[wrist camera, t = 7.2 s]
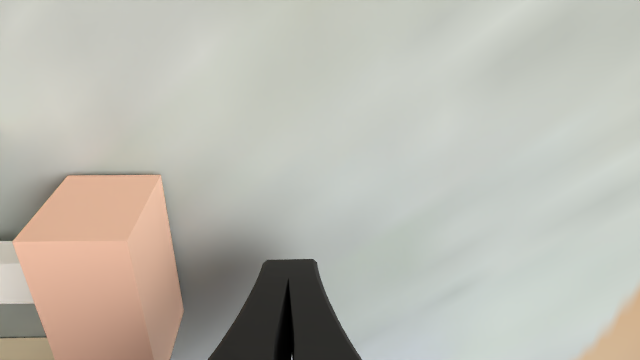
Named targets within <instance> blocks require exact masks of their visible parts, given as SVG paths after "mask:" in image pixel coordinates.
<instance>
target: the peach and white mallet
mask: <svg viewBox="0 0 640 360" xmlns="http://www.w3.org/2000/svg"><path fill="white" fill-rule="evenodd" d="M0 304H35V306H36V309H37V312H38V315H39V317H40V320H41V323H42V326H43V328H44V331H45V334H46V337H47V339H48V342H49V345H50V348H51V350H52V353H53V356H54V359H55V360H170V357H171V354H172V350H173V347H174V343H175V340H176V337H177V333H178V330H179V326H180V323H181V319H182V316H183V312H184V309H183V303H182V297H181V291H180V285H179V279H178V273H177V268H176V262H175V256H174V250H173V244H172V238H171V232H170V226H169V221H168V215H167V209H166V203H165V197H164V191H163V185H162V179H161V175H71V176H67V177H66V178H65V179H64V181H63V182H62V183H61V184H60V185H59V187H58V188H57V189H56V190H55V191H54V193H53V194H52V195H51V196H50V197H49V198H48V200H47V201H46V202H45V203H44V204H43V206H42V207H41V208H40V209H39V210H38V212H37V213H36V214H35V215H34V216H33V218H32V219H31V220H30V221H29V222H28V223H27V225H26V226H25V227H24V228H23V229H22V231H21V232H20V233H19V234H18V235H17V237H16V238H15V239H14V240H13V241H0Z"/></svg>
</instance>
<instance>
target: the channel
mask: <svg viewBox="0 0 640 360" xmlns="http://www.w3.org/2000/svg"><path fill="white" fill-rule="evenodd" d="M0 360H55V359H54V356H53V353H52V350H51V348H50V345H49V342H48V339H47V338H0Z"/></svg>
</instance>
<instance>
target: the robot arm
mask: <svg viewBox="0 0 640 360" xmlns="http://www.w3.org/2000/svg"><path fill="white" fill-rule="evenodd" d="M291 356H292V358H293V360H362V359H361V357H360V356H359V354H358V353H357V351H356V350H355V348H354V347H353V345H352V343H351V342H350V340H349V338H348V337H347V335H346V333H345V331H344V330H343V328H342V326H341V324H340V322H339V320H338V318H337V316H336V314H335V312H334V310H333V308H332V306H331V304H330V302H329V300H328V297H327V295H326V292H325V290H324V287H323V284H322V282H321V279H320V275H319V271H318V267H317V262H316V261H315V260H313V259H292V260H267V261H265V262H264V263H263V265H262V268H261V271H260V273H259V276H258V278H257V280H256V283H255V285H254V287H253V289H252V291H251V293H250V295H249V297H248V298H247V300H246V302H245V304H244V306H243V307H242V309H241V311H240V313H239V315H238V316H237V318H236V319H235V321H234V323H233V324H232V326H231V327H230V329H229V330H228V332H227V333H226V335H225V336H224V338H223V339H222V341H221V342H220V344H219V345H218V346H217V348H216V349H215V351H214V352H213V353H212V355H211V356H210V357H209V359H208V360H291Z"/></svg>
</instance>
